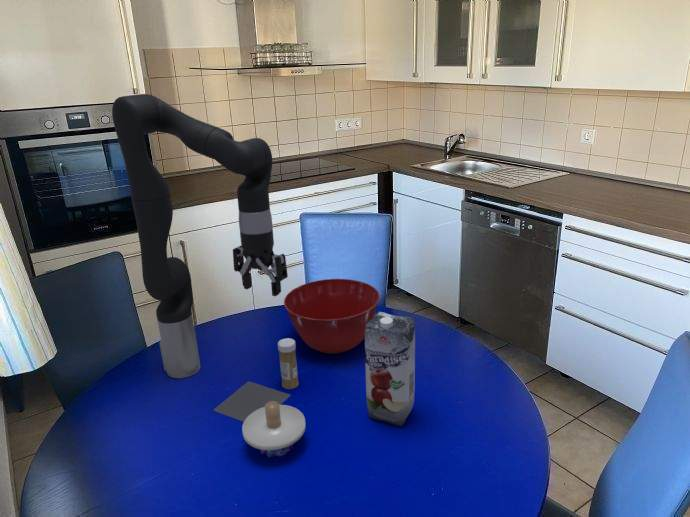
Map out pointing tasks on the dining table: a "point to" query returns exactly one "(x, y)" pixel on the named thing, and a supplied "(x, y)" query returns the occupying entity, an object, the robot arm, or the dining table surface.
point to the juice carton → (390, 367)
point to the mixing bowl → (332, 313)
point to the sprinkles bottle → (288, 363)
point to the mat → (249, 400)
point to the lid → (273, 426)
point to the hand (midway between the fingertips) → (262, 291)
